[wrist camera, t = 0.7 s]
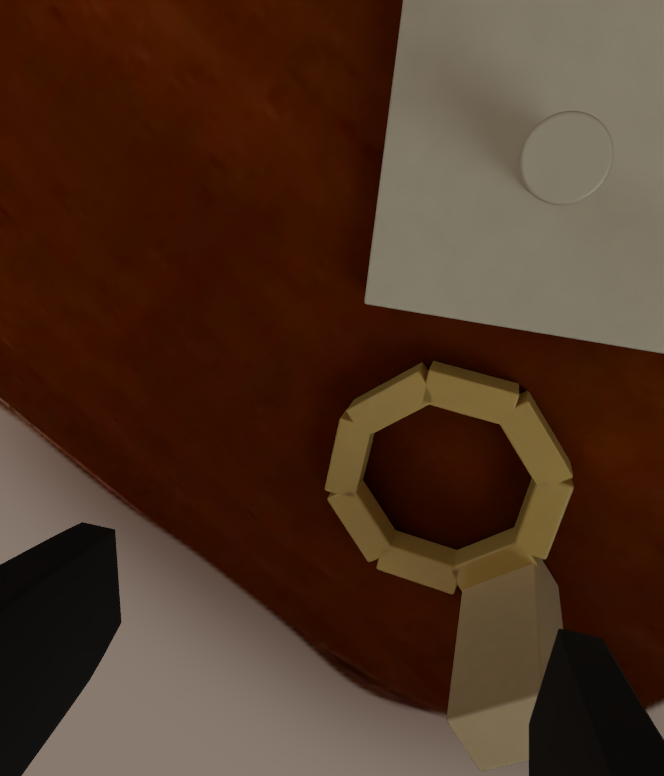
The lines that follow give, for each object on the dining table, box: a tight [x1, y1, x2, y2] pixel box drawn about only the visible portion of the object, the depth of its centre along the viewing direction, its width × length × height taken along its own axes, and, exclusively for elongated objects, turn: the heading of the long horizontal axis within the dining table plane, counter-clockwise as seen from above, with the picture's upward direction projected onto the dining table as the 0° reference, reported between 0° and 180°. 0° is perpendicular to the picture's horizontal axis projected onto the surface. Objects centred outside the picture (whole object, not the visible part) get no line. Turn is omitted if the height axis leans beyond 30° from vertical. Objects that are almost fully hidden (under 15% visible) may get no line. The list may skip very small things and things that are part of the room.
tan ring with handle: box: [325, 361, 574, 771], centre depth 16 cm, size 8×7×6 cm
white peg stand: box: [364, 0, 664, 354], centre depth 13 cm, size 8×8×6 cm
